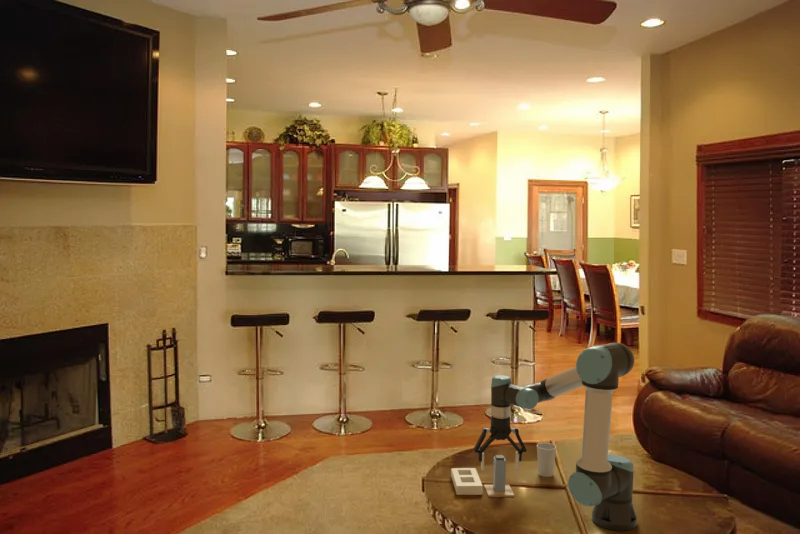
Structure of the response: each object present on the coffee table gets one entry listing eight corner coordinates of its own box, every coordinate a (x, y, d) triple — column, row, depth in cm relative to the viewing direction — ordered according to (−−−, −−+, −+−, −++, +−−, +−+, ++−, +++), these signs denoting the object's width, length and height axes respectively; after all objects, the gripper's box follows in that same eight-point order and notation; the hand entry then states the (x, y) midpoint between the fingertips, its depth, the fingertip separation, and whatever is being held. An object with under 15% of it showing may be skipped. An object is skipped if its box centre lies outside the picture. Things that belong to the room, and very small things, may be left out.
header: (482, 494, 252) (482, 485, 252) (456, 494, 251) (456, 486, 251) (475, 476, 270) (475, 468, 269) (451, 476, 269) (451, 468, 269)
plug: (505, 491, 253) (505, 458, 252) (494, 491, 253) (495, 458, 252) (503, 487, 257) (503, 454, 256) (493, 487, 257) (493, 454, 256)
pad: (514, 496, 250) (514, 495, 250) (488, 496, 250) (488, 495, 250) (508, 485, 260) (509, 484, 260) (484, 486, 260) (484, 484, 260)
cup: (557, 477, 269) (558, 449, 268) (537, 477, 269) (538, 449, 268) (553, 470, 277) (554, 442, 276) (534, 470, 277) (535, 442, 276)
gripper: (530, 412, 257) (529, 465, 259) (467, 413, 256) (466, 465, 257) (534, 418, 250) (533, 472, 251) (470, 418, 249) (469, 473, 250)
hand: (499, 469), depth 254 cm, fingers open, 13 cm apart
